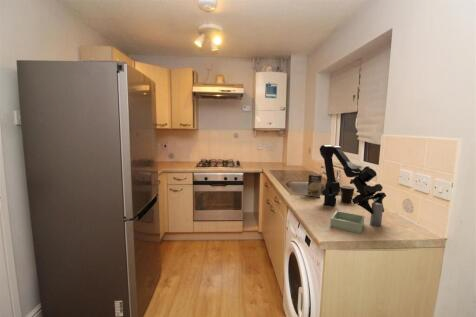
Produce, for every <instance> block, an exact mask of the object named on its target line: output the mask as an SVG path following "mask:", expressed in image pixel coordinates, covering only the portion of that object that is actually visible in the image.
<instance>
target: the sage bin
mask: <svg viewBox="0 0 476 317" xmlns="http://www.w3.org/2000/svg"><path fill="white" fill-rule="evenodd" d="M364 224H365V215H363V214H362V215H361V214H356V213H351V212H346V211H341V210H335V212H334V214H332V216H331V218H330V228H334V229H340V230H344V231H347V232H352V233H355V234H362V232H363V228H364Z"/></svg>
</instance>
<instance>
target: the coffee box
mask: <svg viewBox="0 0 476 317" xmlns="http://www.w3.org/2000/svg"><path fill="white" fill-rule="evenodd" d="M322 176H323V175H322V174H319V173H308V181H307V182H308V183H307V194H306V196H307V195H308V196H307V197H309V196H315V197H314V198H318V197H320V198H321V193H322V190H321V189H322V188H321V187H322Z"/></svg>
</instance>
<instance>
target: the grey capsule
mask: <svg viewBox="0 0 476 317" xmlns="http://www.w3.org/2000/svg"><path fill="white" fill-rule="evenodd" d="M371 208H372V210H373V212H374V213H373V214H371V213H370V220H369V225H371V226H374V227H382V223H383V222H382V221H383V213H384V212H383V208H384V204H381V203H373V202H372V203H371Z"/></svg>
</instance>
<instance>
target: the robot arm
mask: <svg viewBox="0 0 476 317" xmlns="http://www.w3.org/2000/svg"><path fill="white" fill-rule="evenodd" d="M319 153H320V156H321V157H322V159H323V162H324V169H325V175H326V182H325V189H323V190H321V194H322V196H323V197H324V199H323V201H324V202H323V203H322V205H324V206H329V207H335V206H336V205H337V198H336V197H337V196H339V193H341V183H340V182H339V181H337V180H336V176H335V175H336V174H335V169H334V168H335V167H334V163H333V162H334V161H333V157H334V156H335V157H336V159H337V160H338V161H339V163H340V164H341V165H342V168H343V173H344V174H345V176H346V177H347V178H351V179H350V180H349V185H354V188H355V189H356V193H359V194H357V195H355V196H353V197H352V202H351V203H353V205H357V206H359V207H361V208H362V209H364V210H365V211H367V212H368V213H370V215H371V214H373V213H374V212H373V210H372V205H370V200H372V201H373V202H372V203H381V204H383V200H384V199H385V198H386V197H387V194H386V193H385V192H383V191H382V190H383V189H384V188H383V186H382V184H380V183H377V184H375V185H372V186H371V185H368V184H367V183H368V182H370V181H371V180H373V179H374V178H375V177H377V174H378V173H377V172H376V170H374V169H373V168H372V167H370V166H368V165H367V166H364V168H363V169H360V168H359V167H358V165H356V164H354V163H352V162H351V160H350V159H349V158H348V156H347V155H346V154H345V152H344V151H343V150H342V147H341V146H340V145H339V146H338V145H337V146H336V145H334V146H333V145H331V144H322V145H321V146H320V148H319ZM383 205H384V204H383ZM384 212H385V209H384V207H383V213H384Z"/></svg>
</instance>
